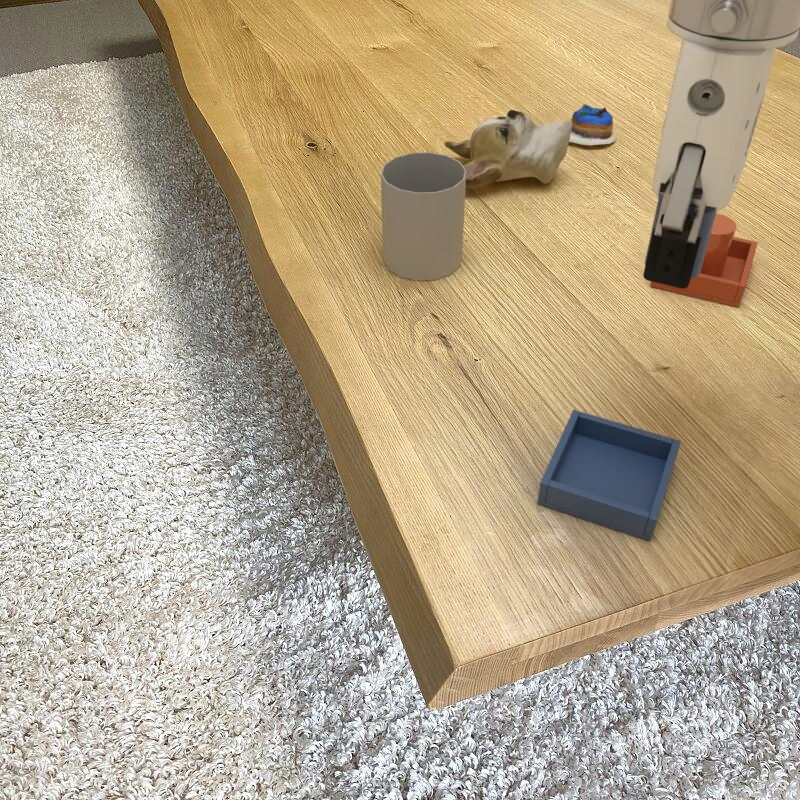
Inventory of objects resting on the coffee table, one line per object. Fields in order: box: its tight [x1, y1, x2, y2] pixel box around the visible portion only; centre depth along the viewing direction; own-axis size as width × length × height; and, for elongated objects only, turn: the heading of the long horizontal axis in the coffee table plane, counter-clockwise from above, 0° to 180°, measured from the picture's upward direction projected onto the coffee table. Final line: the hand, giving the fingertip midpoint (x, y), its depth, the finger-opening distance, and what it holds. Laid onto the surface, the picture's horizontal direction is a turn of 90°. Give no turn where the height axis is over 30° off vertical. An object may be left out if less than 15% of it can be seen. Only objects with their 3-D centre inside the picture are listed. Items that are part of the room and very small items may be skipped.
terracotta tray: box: [649, 236, 759, 308], centre depth 85 cm, size 9×9×2 cm
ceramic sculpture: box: [443, 109, 572, 189], centre depth 99 cm, size 11×9×15 cm
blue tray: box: [536, 409, 682, 542], centre depth 65 cm, size 9×9×2 cm
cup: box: [380, 151, 467, 282], centre depth 86 cm, size 8×8×10 cm
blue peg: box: [644, 188, 718, 279], centre depth 60 cm, size 4×4×6 cm
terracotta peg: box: [700, 213, 738, 278], centre depth 84 cm, size 4×4×6 cm
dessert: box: [568, 103, 617, 146], centre depth 109 cm, size 8×7×6 cm
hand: (673, 263), depth 61 cm, fingers closed on blue peg, 4 cm apart
